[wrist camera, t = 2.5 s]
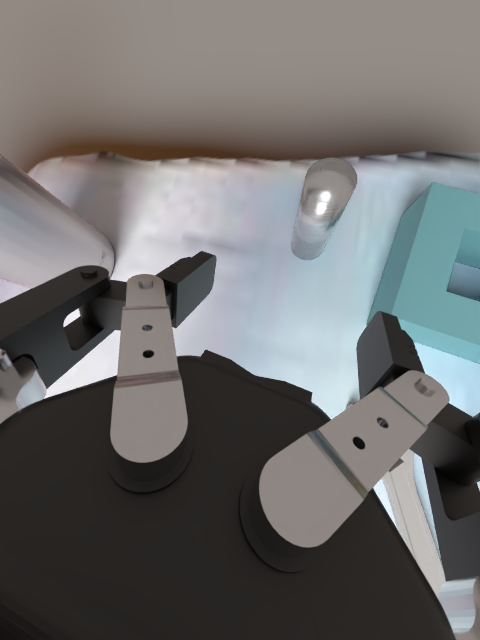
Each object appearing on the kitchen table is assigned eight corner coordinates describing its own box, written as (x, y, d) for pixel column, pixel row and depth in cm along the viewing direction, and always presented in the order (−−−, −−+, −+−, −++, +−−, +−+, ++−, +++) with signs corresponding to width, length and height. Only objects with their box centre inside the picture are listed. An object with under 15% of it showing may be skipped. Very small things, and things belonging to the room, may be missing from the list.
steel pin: (286, 254, 27) (298, 194, 18) (297, 226, 28) (314, 152, 18) (317, 264, 27) (348, 208, 17) (328, 235, 27) (363, 164, 17)
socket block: (366, 324, 25) (390, 315, 20) (401, 215, 27) (432, 182, 22) (503, 372, 23) (567, 375, 18) (533, 250, 25) (599, 223, 20)
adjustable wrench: (478, 696, 20) (499, 728, 18) (397, 699, 20) (409, 730, 19) (400, 384, 24) (410, 386, 23) (334, 393, 25) (339, 395, 23)
